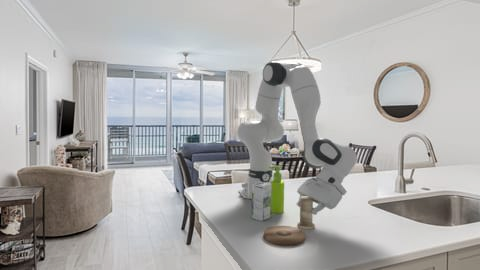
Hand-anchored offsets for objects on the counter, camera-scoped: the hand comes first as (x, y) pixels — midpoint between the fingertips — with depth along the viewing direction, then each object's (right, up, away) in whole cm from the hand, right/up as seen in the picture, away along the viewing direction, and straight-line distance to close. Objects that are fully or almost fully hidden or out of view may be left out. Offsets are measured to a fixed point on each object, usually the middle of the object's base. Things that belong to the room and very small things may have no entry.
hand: (305, 209), depth 113 cm
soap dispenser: (-9, -6, +18) cm, 21 cm away
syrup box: (-16, -6, +9) cm, 19 cm away
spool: (0, -7, +1) cm, 7 cm away
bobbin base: (-9, -7, -10) cm, 15 cm away
